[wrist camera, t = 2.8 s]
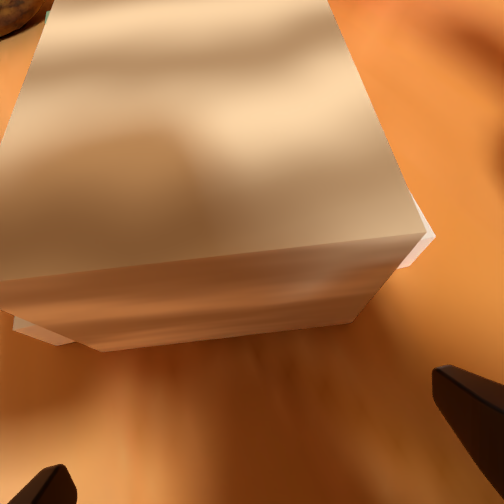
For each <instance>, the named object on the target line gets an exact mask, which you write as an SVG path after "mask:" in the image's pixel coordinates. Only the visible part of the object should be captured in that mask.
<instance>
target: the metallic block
mask: <svg viewBox="0 0 504 504" xmlns="http://www.w3.org/2000/svg"><path fill="white" fill-rule="evenodd" d="M426 233H427V231H426V229H425V226H424V224H423V222H422V219H421V217H420V215H419V212H418V210H417V208H416V205H415V203H414V201H413V199H412V196H411V194H410V192H409V189H408V187H407V185H406V182H405V180H404V178H403V175H402V173H401V171H400V168H399V166H398V164H397V161H396V159H395V157H394V154H393V152H392V150H391V147H390V145H389V143H388V140H387V138H386V136H385V134H384V131H383V129H382V127H381V124H380V122H379V120H378V117H377V115H376V113H375V110H374V108H373V106H372V103H371V101H370V99H369V96H368V94H367V92H366V89H365V87H364V85H363V82H362V80H361V78H360V75H359V73H358V71H357V69H356V66H355V64H354V62H353V59H352V57H351V55H350V52H349V50H348V48H347V45H346V43H345V41H344V38H343V36H342V34H341V31H340V29H339V27H338V24H337V22H336V20H335V17H334V15H333V13H332V10H331V8H330V6H329V4H328V1H327V0H54V3H53V5H52V8H51V11H50V13H49V16H48V19H47V21H46V24H45V27H44V29H43V32H42V35H41V37H40V40H39V43H38V45H37V48H36V51H35V53H34V56H33V59H32V61H31V64H30V67H29V69H28V72H27V75H26V77H25V80H24V83H23V85H22V88H21V91H20V93H19V96H18V99H17V101H16V104H15V107H14V109H13V112H12V115H11V117H10V120H9V123H8V125H7V128H6V131H5V133H4V136H3V139H2V141H1V144H0V310H2V311H5V312H7V313H9V314H12V315H14V316H16V317H19V318H21V319H24V320H26V321H28V322H31V323H33V324H36V325H38V326H40V327H43V328H45V329H47V330H50V331H52V332H55V333H57V334H59V335H62V336H64V337H67V338H69V339H71V340H74V341H76V342H78V343H81V344H83V345H86V346H88V347H90V348H93V349H95V350H98V351H100V352H108V351H117V350H125V349H134V348H143V347H151V346H160V345H168V344H177V343H185V342H194V341H202V340H211V339H220V338H228V337H237V336H245V335H254V334H262V333H271V332H279V331H288V330H296V329H305V328H314V327H322V326H331V325H339V324H348V323H352V322H353V320H354V319H355V318H356V317H357V316H358V314H359V313H360V312H361V311H362V310H363V308H364V307H365V306H366V305H367V304H368V302H369V301H370V300H371V299H372V298H373V296H374V295H375V294H376V293H377V292H378V290H379V289H380V288H381V287H382V286H383V284H384V283H385V282H386V281H387V280H388V278H389V277H390V276H391V275H392V273H393V272H394V271H395V270H396V269H397V267H398V266H399V265H400V264H401V263H402V261H403V260H404V259H405V258H406V257H407V255H408V254H409V253H410V252H411V251H412V249H413V248H414V247H415V246H416V245H417V243H418V242H419V241H420V240H421V239H422V237H423V236H424V235H425V234H426Z"/></svg>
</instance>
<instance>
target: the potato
mask: <svg viewBox="0 0 504 504" xmlns="http://www.w3.org/2000/svg"><path fill="white" fill-rule="evenodd" d="M44 2H45V0H0V37H1V36H3V35H6V34H8V33H10V32H12V31H14V30H16V29H19V28H21V27H22V26H23V25H24V24H25V23H27V22H28V21H29V20H30V19H32V17H33V16H34V15H35V14H36V13H37V12H38V11H39V9H40V8H41V6H42V5H43V3H44Z"/></svg>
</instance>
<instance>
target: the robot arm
mask: <svg viewBox="0 0 504 504" xmlns="http://www.w3.org/2000/svg"><path fill="white" fill-rule="evenodd" d="M432 394H433V399H434V401H435V403H436V405H437V407H438V408H439V410H440V411H441V413H442V414H443V416H444V417H445V419H446V420H447V422H448V423H449V425H450V426H451V428H452V429H453V431H454V432H455V434H456V435H457V437H458V438H459V440H460V441H461V443H462V444H463V446H464V447H465V449H466V450H467V452H468V453H469V455H470V456H471V458H472V459H473V460H474V462H475V463H476V465H477V466H478V468H479V469H480V470H481V471H482V473H483V474H484V475H485V477H486V478H487V479H488V481H489V482H490V483H491V484H492V486H493V487H494V488H495V489H496V491H497V492H498V493H499V494H500V496H501V497H502V498H503V499H504V385H502V384H499V383H497V382H494V381H491V380H489V379H486V378H484V377H481V376H479V375H476V374H473V373H471V372H468V371H466V370H463V369H460V368H458V367H455V366H452V365H444V366H440V367H436V368H434V369H433V371H432ZM76 503H77V489H76V486H75V484H74V482H73V480H72V478H71V476H70V474H69V472H68V470H67V468H66V466H64V465H63V464H58V465H54V466H50V467H47V468H44V469H43V470H41V471H40V472H39V473H38V474H37V475H36V476H35V477H34V478H33V479H32V480H31V481H30V482H29V483H28V484H27V485H26V486H25V487H24V488H23V489H22V490H21V491H20V492H19V493H18V494H17V495H16V496H15V497H14V498H13V499H12V500H11V501H10V502H9V503H8V504H76Z"/></svg>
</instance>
